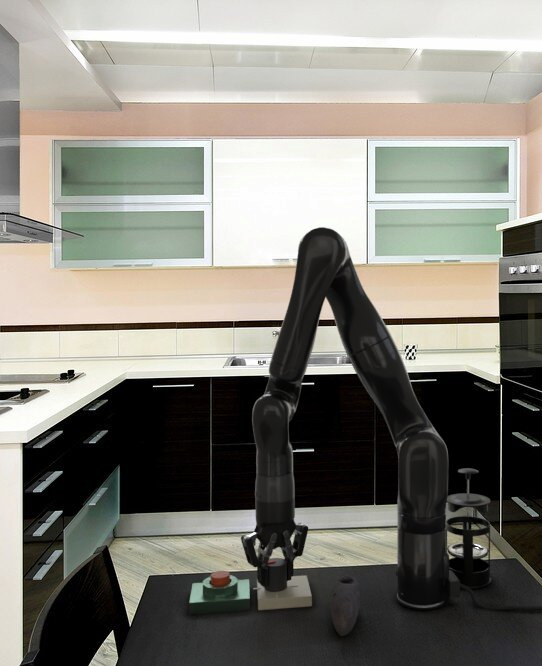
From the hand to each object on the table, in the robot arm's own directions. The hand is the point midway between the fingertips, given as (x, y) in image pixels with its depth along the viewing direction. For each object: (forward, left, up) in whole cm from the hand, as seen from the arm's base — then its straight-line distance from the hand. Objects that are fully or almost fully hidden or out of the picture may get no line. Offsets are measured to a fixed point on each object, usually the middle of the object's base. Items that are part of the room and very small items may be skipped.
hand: (275, 581), depth 131 cm
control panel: (-1, 0, -3) cm, 3 cm away
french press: (-39, -2, -3) cm, 40 cm away
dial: (0, 0, -1) cm, 1 cm away
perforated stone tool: (-11, +13, -3) cm, 18 cm away
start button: (+11, 0, 0) cm, 11 cm away
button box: (+11, 0, -3) cm, 11 cm away
